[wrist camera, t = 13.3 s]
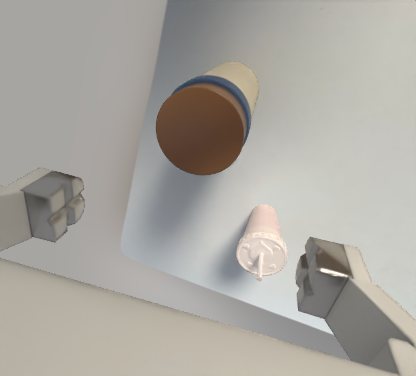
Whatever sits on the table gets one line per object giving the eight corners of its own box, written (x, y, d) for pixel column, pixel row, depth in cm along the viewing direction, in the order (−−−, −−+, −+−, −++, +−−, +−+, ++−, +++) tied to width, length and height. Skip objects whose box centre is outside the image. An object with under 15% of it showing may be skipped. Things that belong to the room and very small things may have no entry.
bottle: (194, 83, 38) (146, 111, 24) (239, 48, 35) (215, 58, 21) (224, 128, 39) (196, 179, 26) (270, 98, 37) (266, 138, 23)
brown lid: (150, 113, 24) (138, 120, 22) (215, 62, 21) (208, 66, 19) (197, 176, 26) (190, 189, 23) (263, 138, 23) (261, 148, 21)
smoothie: (286, 197, 42) (290, 262, 30) (284, 233, 45) (288, 306, 33) (242, 196, 44) (229, 258, 32) (243, 231, 47) (232, 300, 35)
